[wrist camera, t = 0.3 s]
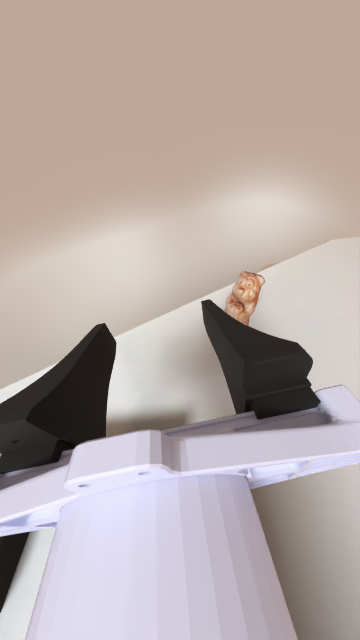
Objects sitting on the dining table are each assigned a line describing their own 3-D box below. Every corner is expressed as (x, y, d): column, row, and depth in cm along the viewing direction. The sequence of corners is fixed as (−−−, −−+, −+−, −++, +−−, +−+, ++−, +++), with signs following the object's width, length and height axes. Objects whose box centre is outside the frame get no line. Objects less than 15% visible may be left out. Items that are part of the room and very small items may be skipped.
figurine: (210, 346, 36) (211, 283, 26) (227, 324, 40) (233, 263, 30) (238, 359, 33) (251, 294, 23) (254, 334, 37) (270, 270, 27)
